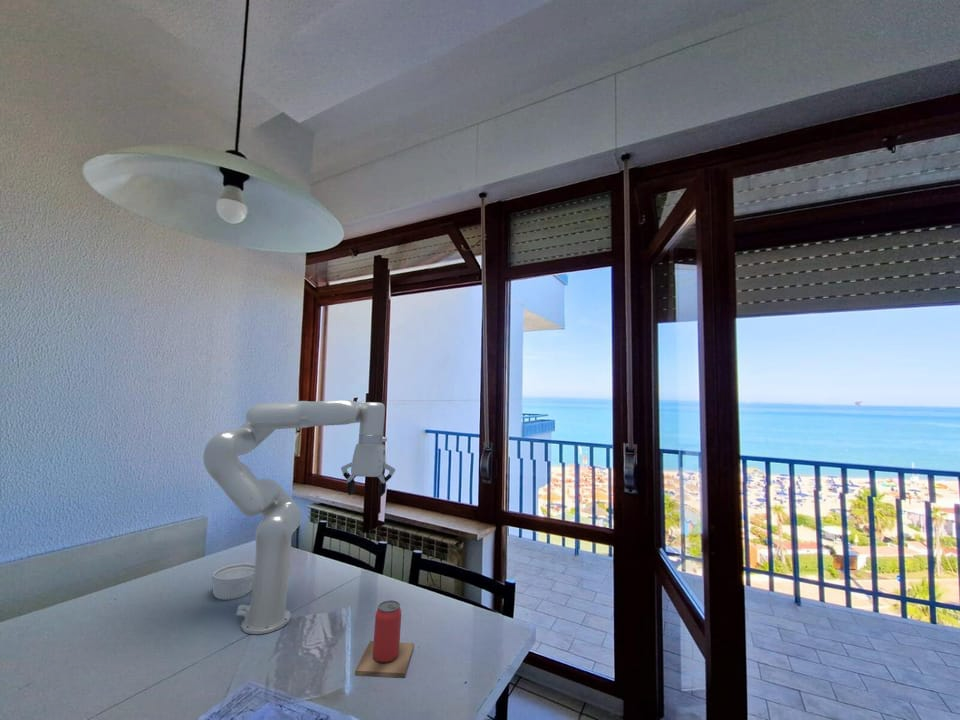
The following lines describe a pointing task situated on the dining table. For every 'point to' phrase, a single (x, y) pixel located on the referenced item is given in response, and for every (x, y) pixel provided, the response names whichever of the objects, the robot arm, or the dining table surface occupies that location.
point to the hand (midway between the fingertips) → (366, 494)
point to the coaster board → (387, 669)
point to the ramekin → (233, 581)
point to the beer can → (387, 631)
